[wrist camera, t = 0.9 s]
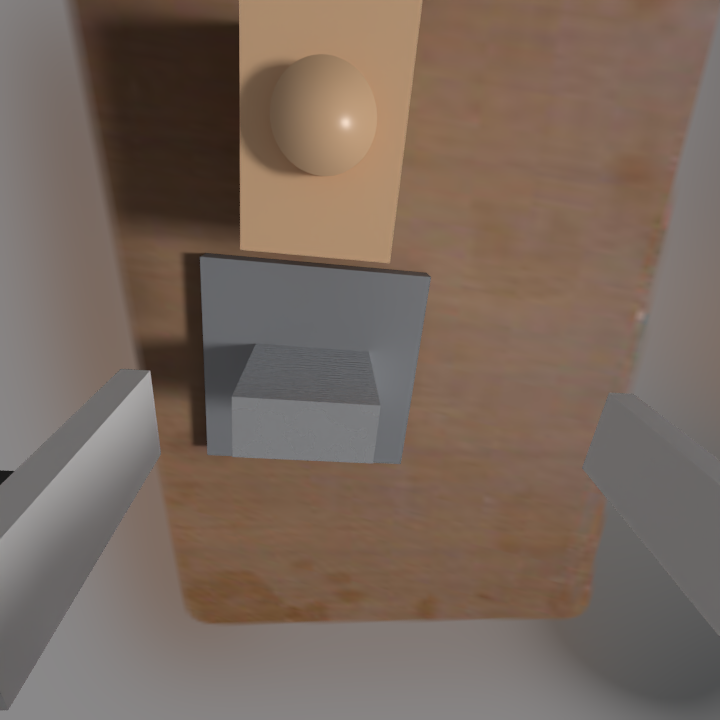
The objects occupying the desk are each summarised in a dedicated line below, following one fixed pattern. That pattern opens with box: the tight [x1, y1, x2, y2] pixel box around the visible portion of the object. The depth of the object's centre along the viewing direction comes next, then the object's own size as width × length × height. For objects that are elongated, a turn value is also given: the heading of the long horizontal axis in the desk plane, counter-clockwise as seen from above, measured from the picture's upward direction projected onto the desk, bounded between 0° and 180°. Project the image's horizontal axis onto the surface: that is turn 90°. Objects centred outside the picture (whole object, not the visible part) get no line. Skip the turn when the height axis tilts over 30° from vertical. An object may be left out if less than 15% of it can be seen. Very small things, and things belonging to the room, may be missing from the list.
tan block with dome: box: [239, 0, 423, 263], centre depth 23 cm, size 12×7×12 cm, turn 174°
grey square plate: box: [200, 253, 431, 464], centre depth 30 cm, size 16×16×10 cm
